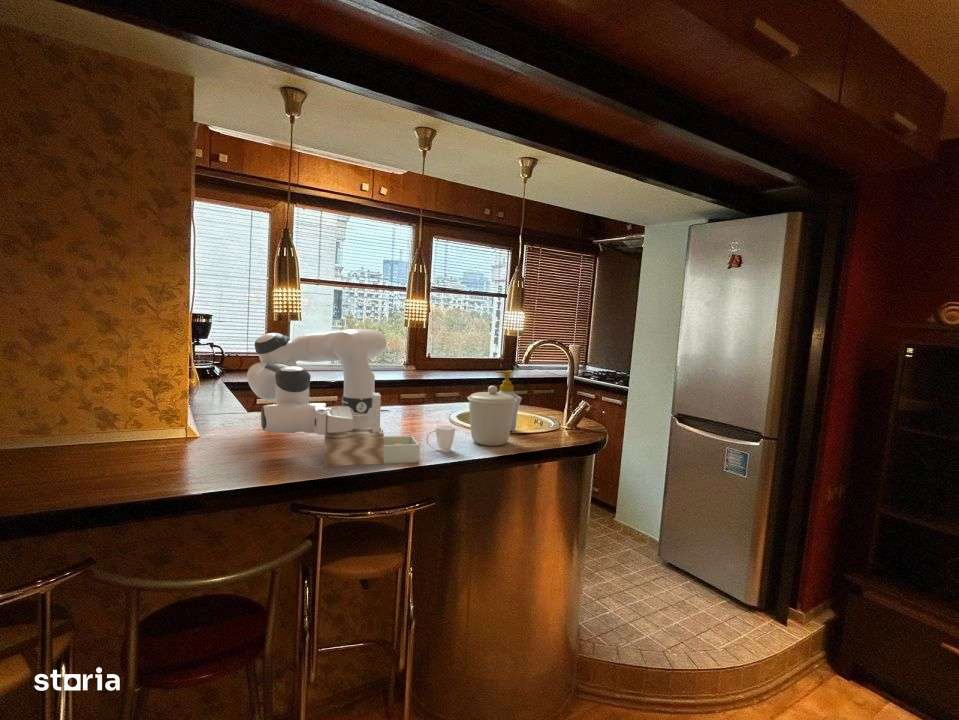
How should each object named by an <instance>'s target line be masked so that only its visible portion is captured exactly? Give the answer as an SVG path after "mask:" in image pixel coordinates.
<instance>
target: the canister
mask: <svg viewBox="0 0 959 720" xmlns="http://www.w3.org/2000/svg"><path fill="white" fill-rule="evenodd" d="M498 390H499V389H498V387H497V386H496V385H490V386H488V388H487V391H478V392H474V393H472V394H470V395H468V396H467V397H466V398H467V400H468V407H469V424H470V435H471V439H472V440H473V442H475V443H476V444H478V445H481V446H487V447H488V446H489V447H499V446H503V445H505V444H506V443H507V442H508V441H509V438H510V435H511V432H510V430H511V425H512V419H513V413H514V407H515V403H516V402H517V399H515V398H514V397H513V396H511V395H509V394H505V393H498V392H499V391H498Z"/></svg>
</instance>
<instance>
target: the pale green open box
mask: <svg viewBox="0 0 959 720" xmlns="http://www.w3.org/2000/svg"><path fill="white" fill-rule="evenodd" d="M397 443H401V444H403V445H395V444H397ZM419 462H420V443H419V442H418V441H417V439H416V438H415V437H414V435H395V436H394V435H392V436H390V435H389V436H388V435H387V436H384V463H383V464H382V465H385V464H387V465H388V464H405V463H406V464H409V463H419Z"/></svg>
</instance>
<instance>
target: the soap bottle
mask: <svg viewBox="0 0 959 720" xmlns="http://www.w3.org/2000/svg"><path fill="white" fill-rule="evenodd" d="M513 372H514V371H513V370H511V369H510V370H497V371H496V373H497V374H502V375H504V380H502V382H501V383H502V384H500V385H499V391H497V392H498V393H505V394H509V395H511V396H513V397H514V398H515V399H517V402H516V403H515V407H514V413H513V419H512V425H511V430H510V431H512V432H514V431H515V430H516V428H517V418H518V417H517V415H518V411H519V407H520V403H521V401H522V400H523V399H522V397H521V396H519V395H518V394H516V393H515V392H514V385H512V381H510V378H511V373H513Z"/></svg>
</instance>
